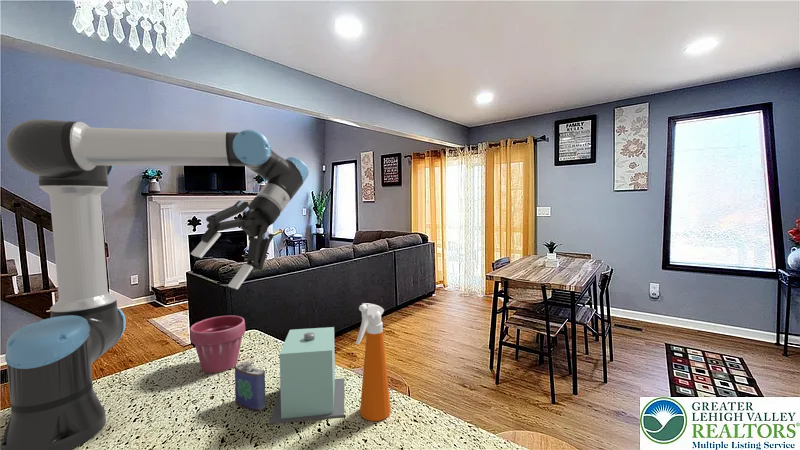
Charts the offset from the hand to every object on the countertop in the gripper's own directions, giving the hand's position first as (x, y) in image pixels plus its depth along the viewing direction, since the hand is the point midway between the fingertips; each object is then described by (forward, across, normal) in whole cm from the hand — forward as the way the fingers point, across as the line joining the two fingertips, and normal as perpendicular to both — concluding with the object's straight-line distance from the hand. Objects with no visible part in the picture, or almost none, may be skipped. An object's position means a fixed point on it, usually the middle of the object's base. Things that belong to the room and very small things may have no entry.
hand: (215, 272), depth 77 cm
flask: (+20, +24, -10) cm, 33 cm away
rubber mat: (+14, +28, -21) cm, 38 cm away
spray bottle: (+12, +26, -38) cm, 48 cm away
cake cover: (+13, +28, -21) cm, 37 cm away
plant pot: (+15, +34, +14) cm, 39 cm away
